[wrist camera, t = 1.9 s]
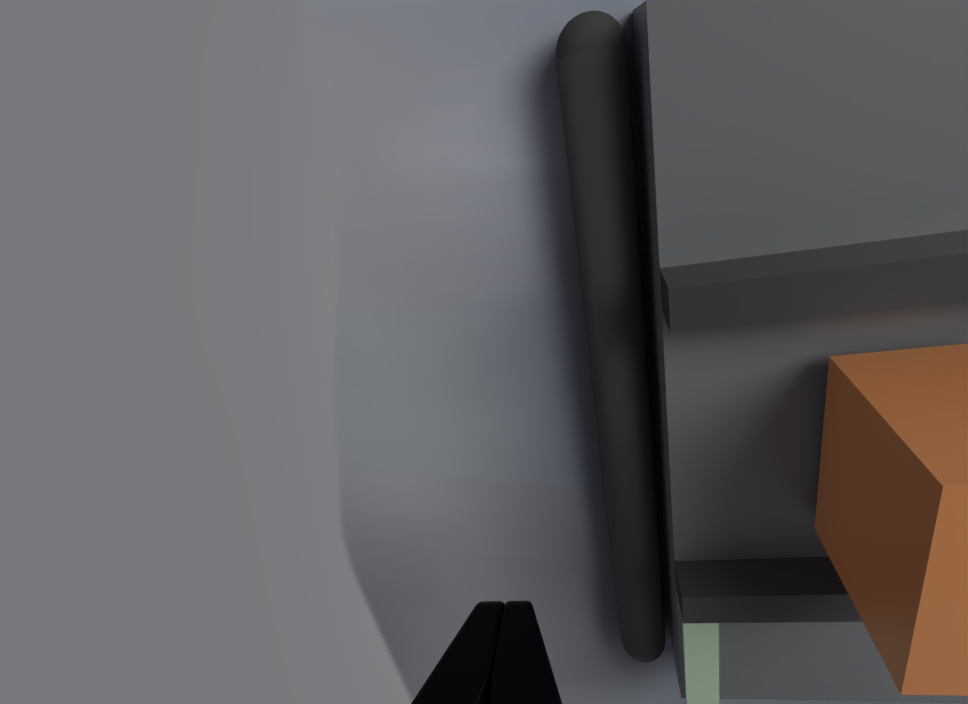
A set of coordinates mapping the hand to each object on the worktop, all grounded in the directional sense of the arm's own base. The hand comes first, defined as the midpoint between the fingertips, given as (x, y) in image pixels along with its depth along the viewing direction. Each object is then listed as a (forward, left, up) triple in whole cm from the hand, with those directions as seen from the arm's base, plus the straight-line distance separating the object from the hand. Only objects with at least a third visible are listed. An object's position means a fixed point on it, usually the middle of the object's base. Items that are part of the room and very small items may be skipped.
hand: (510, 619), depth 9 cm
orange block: (0, -7, -4) cm, 8 cm away
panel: (0, -7, -6) cm, 9 cm away
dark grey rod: (0, -2, -6) cm, 6 cm away
